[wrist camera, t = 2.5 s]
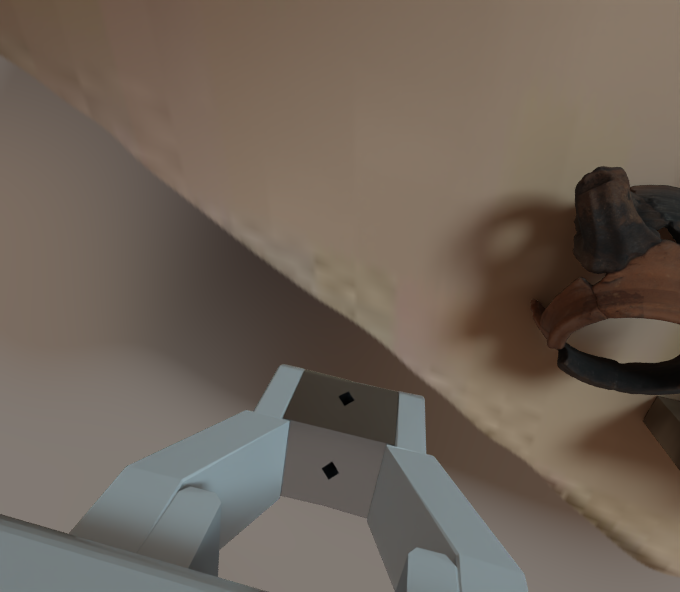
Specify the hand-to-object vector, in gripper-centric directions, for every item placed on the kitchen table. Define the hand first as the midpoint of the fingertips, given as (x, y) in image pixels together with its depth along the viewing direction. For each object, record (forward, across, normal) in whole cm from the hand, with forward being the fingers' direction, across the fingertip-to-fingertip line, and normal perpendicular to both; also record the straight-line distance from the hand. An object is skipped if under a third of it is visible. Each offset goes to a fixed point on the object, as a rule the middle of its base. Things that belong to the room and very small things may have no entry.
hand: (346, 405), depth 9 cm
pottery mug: (+17, -12, 0) cm, 21 cm away
